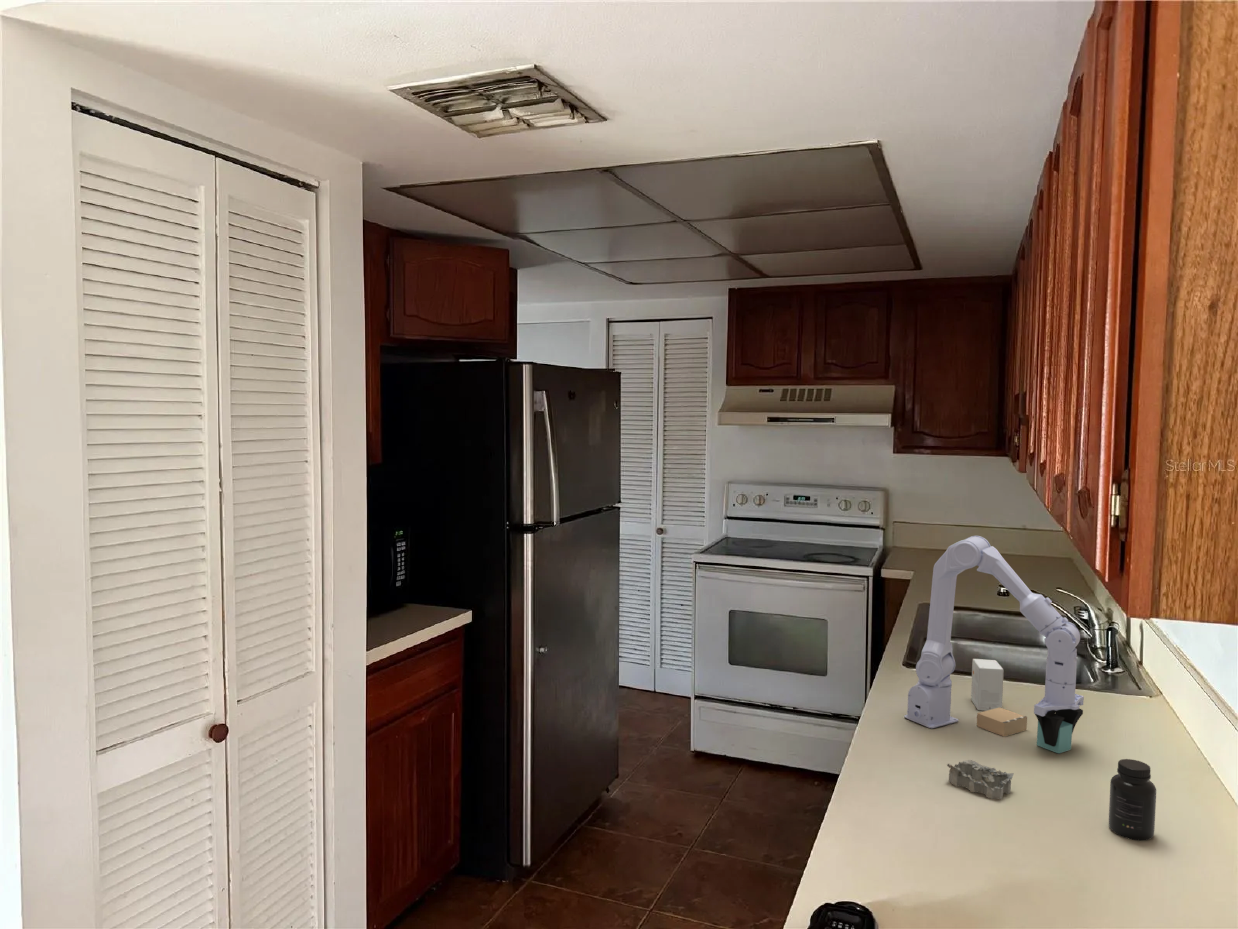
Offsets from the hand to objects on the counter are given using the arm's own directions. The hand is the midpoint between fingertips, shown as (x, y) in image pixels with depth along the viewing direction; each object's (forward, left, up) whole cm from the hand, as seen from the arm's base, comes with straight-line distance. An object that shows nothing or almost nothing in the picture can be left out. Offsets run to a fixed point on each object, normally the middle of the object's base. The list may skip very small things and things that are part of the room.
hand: (1057, 742), depth 183 cm
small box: (+10, +24, -2) cm, 26 cm away
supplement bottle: (-22, -28, -2) cm, 36 cm away
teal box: (0, +1, -1) cm, 2 cm away
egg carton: (-30, -4, -2) cm, 31 cm away
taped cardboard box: (0, +13, -1) cm, 13 cm away
